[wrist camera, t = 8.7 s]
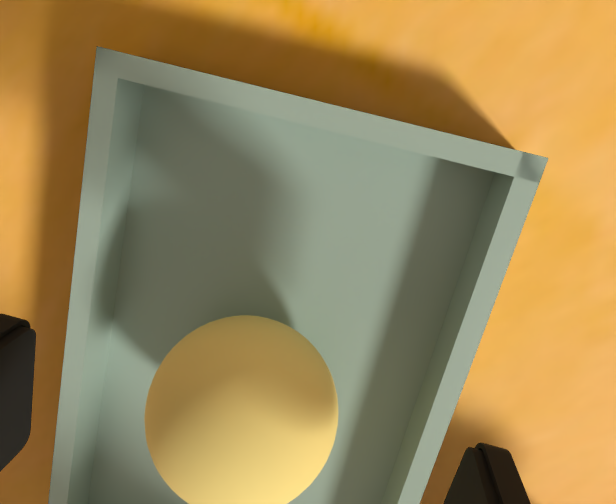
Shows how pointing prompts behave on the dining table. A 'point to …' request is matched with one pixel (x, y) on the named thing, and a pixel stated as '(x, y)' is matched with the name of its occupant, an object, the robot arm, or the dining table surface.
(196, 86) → the tray
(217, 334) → the ball
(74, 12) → the dining table surface
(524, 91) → the dining table surface
